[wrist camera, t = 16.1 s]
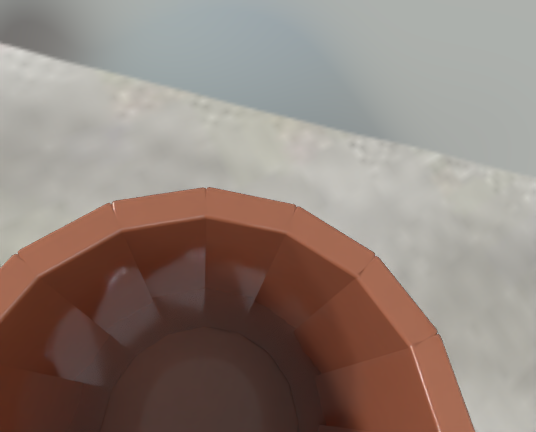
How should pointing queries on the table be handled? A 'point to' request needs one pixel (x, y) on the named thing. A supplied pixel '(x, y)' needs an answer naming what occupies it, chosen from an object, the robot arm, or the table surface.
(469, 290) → the table surface
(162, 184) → the table surface
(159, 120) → the table surface
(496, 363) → the table surface
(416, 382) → the cup
